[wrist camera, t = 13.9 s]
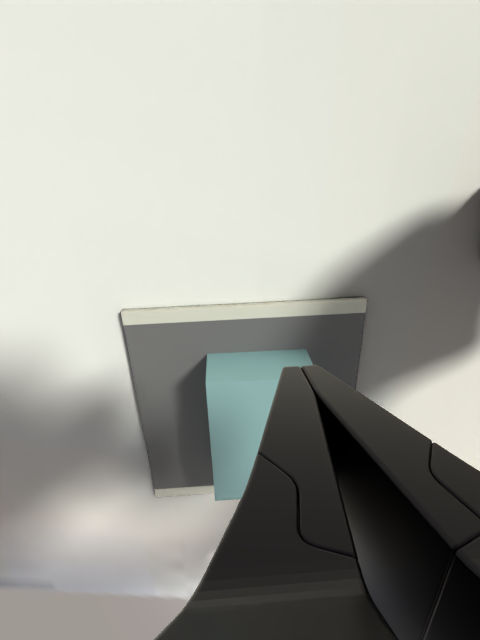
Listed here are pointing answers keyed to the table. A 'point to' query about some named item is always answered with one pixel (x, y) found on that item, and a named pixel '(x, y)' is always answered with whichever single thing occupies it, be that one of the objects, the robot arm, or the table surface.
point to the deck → (241, 410)
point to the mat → (191, 360)
